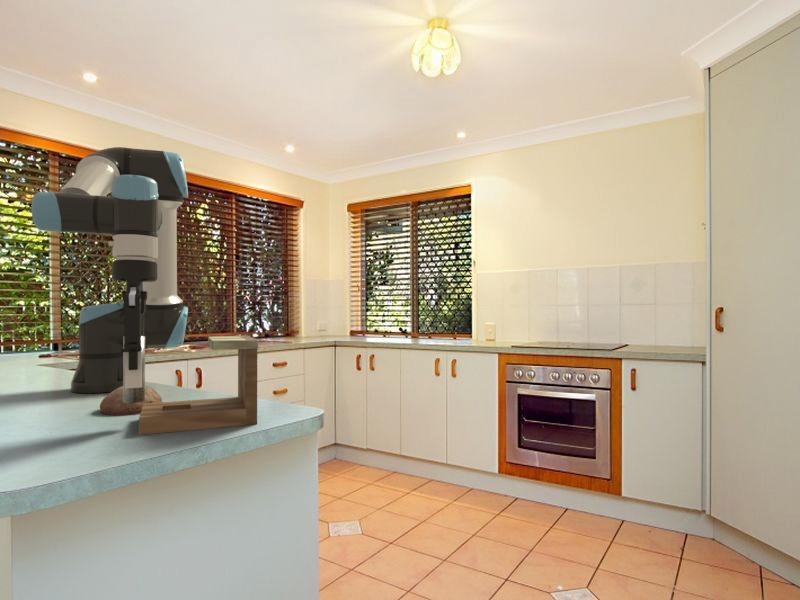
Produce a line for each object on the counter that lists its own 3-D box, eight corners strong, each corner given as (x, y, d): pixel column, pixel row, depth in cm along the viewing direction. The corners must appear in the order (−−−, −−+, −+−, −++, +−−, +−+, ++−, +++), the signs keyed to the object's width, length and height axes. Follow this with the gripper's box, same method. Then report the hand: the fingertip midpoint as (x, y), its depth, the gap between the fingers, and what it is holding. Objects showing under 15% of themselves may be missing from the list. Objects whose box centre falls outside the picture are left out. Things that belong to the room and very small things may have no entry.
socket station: (144, 417, 102) (144, 338, 102) (247, 409, 110) (247, 335, 110) (138, 436, 87) (139, 343, 87) (257, 425, 95) (258, 340, 95)
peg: (145, 398, 96) (145, 335, 96) (144, 402, 93) (144, 336, 93) (124, 400, 95) (124, 336, 95) (121, 403, 92) (122, 337, 92)
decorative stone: (128, 418, 102) (128, 391, 102) (86, 413, 107) (86, 387, 107) (173, 407, 113) (173, 382, 113) (134, 403, 118) (134, 380, 118)
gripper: (117, 262, 100) (116, 381, 100) (105, 255, 85) (104, 394, 85) (159, 264, 103) (158, 379, 103) (155, 256, 88) (154, 391, 88)
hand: (134, 385), depth 94 cm, fingers closed on peg, 3 cm apart
